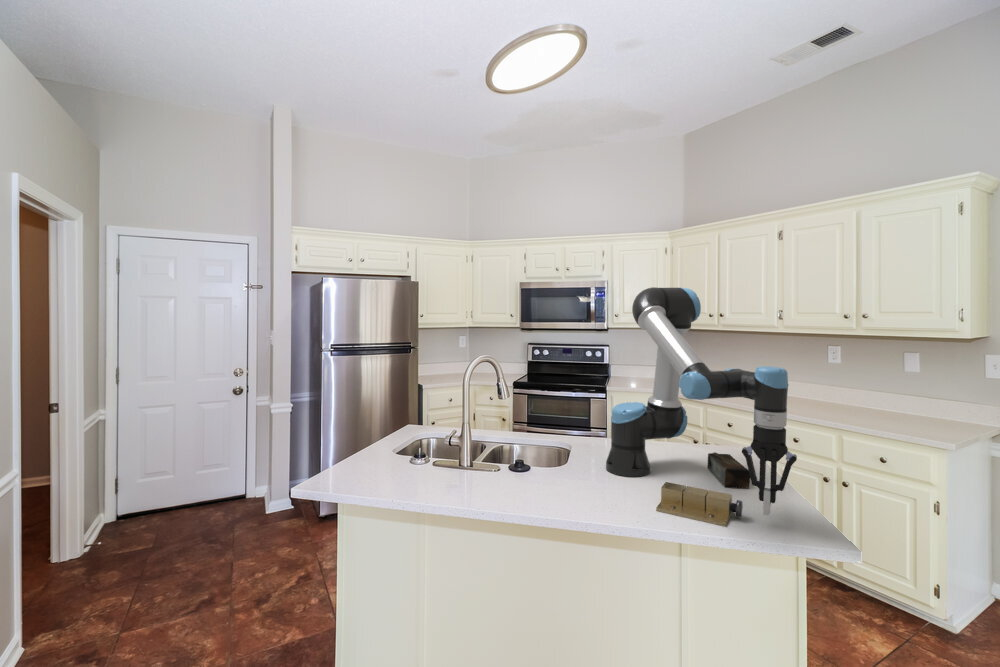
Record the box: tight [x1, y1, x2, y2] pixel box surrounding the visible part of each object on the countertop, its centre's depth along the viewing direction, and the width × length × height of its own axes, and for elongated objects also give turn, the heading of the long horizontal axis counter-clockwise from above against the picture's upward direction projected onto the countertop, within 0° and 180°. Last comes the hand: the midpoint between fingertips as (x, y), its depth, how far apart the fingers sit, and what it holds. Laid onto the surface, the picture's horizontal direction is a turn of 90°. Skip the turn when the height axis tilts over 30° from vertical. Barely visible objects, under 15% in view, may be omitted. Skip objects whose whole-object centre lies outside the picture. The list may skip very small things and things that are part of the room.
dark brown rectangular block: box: [706, 451, 751, 490], centre depth 163 cm, size 8×19×7 cm, turn 173°
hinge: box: [655, 481, 733, 527], centre depth 138 cm, size 18×15×5 cm
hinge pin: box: [729, 499, 744, 518], centre depth 137 cm, size 19×4×4 cm, turn 57°
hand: (766, 513), depth 128 cm, fingers closed
